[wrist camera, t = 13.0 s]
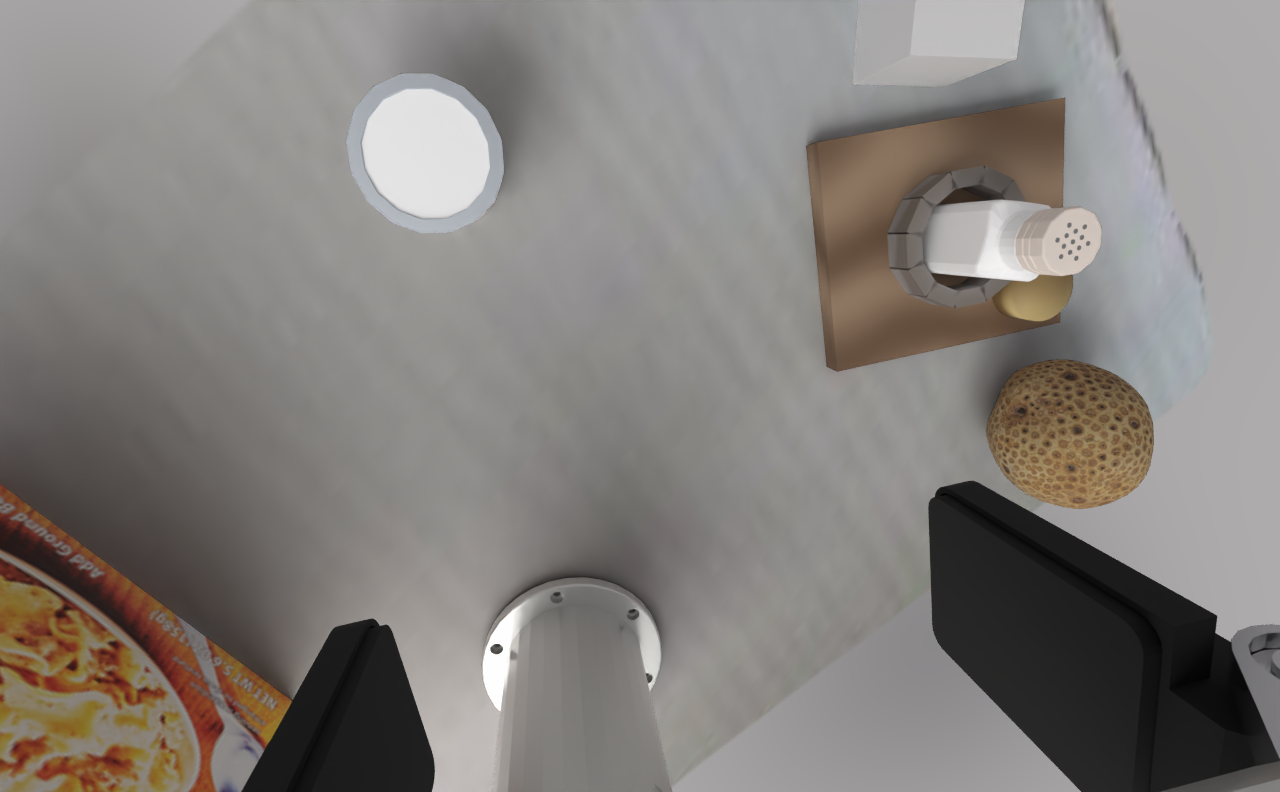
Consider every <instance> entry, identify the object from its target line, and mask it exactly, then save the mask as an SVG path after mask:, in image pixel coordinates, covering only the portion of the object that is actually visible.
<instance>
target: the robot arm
mask: <svg viewBox="0 0 1280 792" xmlns="http://www.w3.org/2000/svg"><path fill="white" fill-rule="evenodd" d="M929 537H930V567H931V596H932V625H933V631H934V635H935V637H936V639H937V641H938V643H939V645H940V646H941V647H942V649H943V650H944V651H945V652H946V653H947V654H948V655H949V656H950V657H951V658H952V659H953V660H954V661H955V662H956V663H957V664H958V665H959V666H960V667H961V668H962V669H963V670H964V672H965V673H967V675H968V676H970V678H971V679H972V680H973V681H974V682H975V683H976V684H977V685H978V686H979V687H980V688H981V689H982V690H983V691H984V692H985V693H986V694H987V695H988V696H989V697H990V698H991V699H992V700H993V701H994V702H995V703H996V704H997V705H998V706H999V707H1000V708H1001V710H1002V711H1003V712H1004V713H1005V714H1006V715H1007V716H1008V717H1009V718H1010V719H1011V720H1012V721H1013V722H1014V723H1015V724H1016V725H1017V726H1018V727H1019V728H1020V729H1021V730H1022V731H1023V732H1024V733H1025V734H1026V735H1027V736H1028V737H1029V738H1030V739H1031V740H1032V741H1033V742H1034V743H1035V744H1036V746H1038V748H1039V749H1040V750H1041V751H1042V752H1043V753H1044V754H1045V755H1046V756H1047V757H1048V758H1049V759H1050V760H1051V761H1052V762H1053V763H1054V764H1055V765H1056V766H1057V767H1058V768H1059V769H1060V770H1061V771H1062V772H1063V773H1064V774H1065V775H1066V776H1067V777H1068V778H1069V779H1070V780H1071V782H1073V783H1074V785H1075V786H1076V787H1077V788H1078V789H1079V790H1080V791H1081V792H1280V625H1271V624H1270V625H1257V626H1250V627H1247V628H1245V629H1242V630H1239V631H1238V632H1237V633H1236V634H1235V635H1234V636H1233V638H1232V639H1231V642H1230V641H1228V640H1226V639H1224V638H1223V637H1221V636H1219V635H1217V634H1216V633H1215V630H1216V622H1217V616H1216V615H1215V614H1213V613H1211V612H1209V611H1208V610H1206V609H1204V608H1202V607H1201V606H1198V605H1197V604H1195V603H1193V602H1191V601H1190V600H1188V599H1186V598H1184V597H1183V596H1181V595H1179V594H1177V593H1175V592H1173V591H1172V590H1170V589H1168V588H1166V587H1164V586H1163V585H1161V584H1159V583H1157V582H1156V581H1154V580H1152V579H1150V578H1148V577H1147V576H1145V575H1143V574H1141V573H1139V572H1137V571H1136V570H1134V569H1132V568H1130V567H1129V566H1127V565H1125V564H1123V563H1121V562H1120V561H1118V560H1116V559H1114V558H1112V557H1110V556H1109V555H1107V554H1105V553H1103V552H1102V551H1100V550H1098V549H1096V548H1094V547H1093V546H1091V545H1089V544H1087V543H1086V542H1084V541H1082V540H1080V539H1078V538H1076V537H1075V536H1073V535H1071V534H1069V533H1068V532H1066V531H1064V530H1062V529H1060V528H1059V527H1057V526H1055V525H1053V524H1051V523H1050V522H1048V521H1046V520H1044V519H1042V518H1040V517H1039V516H1037V515H1035V514H1033V513H1032V512H1030V511H1028V510H1026V509H1024V508H1023V507H1021V506H1019V505H1017V504H1015V503H1014V502H1012V501H1010V500H1008V499H1006V498H1005V497H1003V496H1001V495H999V494H997V493H996V492H994V491H992V490H990V489H988V488H987V487H985V486H983V485H981V484H980V483H978V482H975V481H967V482H962V483H958V484H954V485H949V486H945V487H941V488H939V489H938V490H937V492H936V494H935V497H934V498H932V499H931V500H930V502H929ZM555 592H558V593H555ZM661 659H662V649H661V640H660V636H659V632H658V629H657V626H656V624H655V621H654V619H653V617H652V615H651V613H650V612H649V610H648V609H647V608H646V606H645V605H644V604H643V603H642V602H641V601H640V600H639V599H638V598H637V597H636V596H634V595H633V594H632V593H631V592H629V591H627V590H626V589H624V588H622V587H620V586H618V585H616V584H613V583H610V582H607V581H604V580H600V579H593V578H586V577H580V578H564V579H559V580H554V581H550V582H547V583H544V584H542V585H539V586H537V587H534V588H532V589H530V590H529V591H527V592H525V593H524V594H522V595H520V596H518V597H517V598H516V599H515V600H514V601H513V602H511V603H510V604H509V605H508V606H507V607H506V608H505V609H504V610H503V611H502V612H501V614H500V615H499V616H498V617H497V619H496V620H495V622H494V623H493V625H492V627H491V629H490V631H489V633H488V635H487V639H486V643H485V646H484V651H483V659H482V677H483V682H484V685H485V688H486V692H487V694H488V696H489V697H490V699H491V701H492V703H493V704H494V706H495V707H496V708H497V709H498V710H499V711H500V719H499V729H498V738H497V748H496V758H495V767H494V777H493V787H492V792H672V788H671V784H670V779H669V775H668V770H667V766H666V761H665V757H664V752H663V748H662V744H661V739H660V735H659V730H658V726H657V721H656V717H655V712H654V708H653V704H652V699H651V695H650V691H651V689H652V688H653V686H654V684H655V682H656V680H657V677H658V674H659V671H660V666H661ZM434 775H435V767H434V758H433V754H432V751H431V748H430V745H429V742H428V739H427V735H426V732H425V729H424V726H423V723H422V720H421V717H420V714H419V711H418V708H417V705H416V702H415V699H414V696H413V693H412V690H411V687H410V684H409V681H408V678H407V675H406V672H405V669H404V666H403V663H402V660H401V657H400V654H399V651H398V648H397V645H396V642H395V639H394V636H393V633H392V630H391V628H390V627H389V626H388V625H383V626H379V624H378V622H377V621H376V620H375V619H368V620H363V621H359V622H354V623H350V624H346V625H341V626H337V627H335V628H334V629H333V630H332V631H331V633H330V634H329V636H328V638H327V640H326V642H325V643H324V645H323V647H322V649H321V651H320V652H319V654H318V656H317V658H316V660H315V661H314V663H313V665H312V667H311V668H310V670H309V672H308V674H307V676H306V677H305V679H304V681H303V683H302V685H301V686H300V688H299V690H298V692H297V694H296V695H295V697H294V699H293V701H292V702H291V704H290V706H289V708H288V710H287V711H286V713H285V715H284V717H283V719H282V720H281V722H280V724H279V726H278V728H277V729H276V731H275V733H274V735H273V736H272V738H271V740H270V741H269V743H268V744H267V746H266V748H265V750H264V752H263V753H262V755H261V757H260V759H259V761H258V762H257V764H256V766H255V768H254V769H253V771H252V773H251V775H250V777H249V778H248V780H247V782H246V784H245V786H244V787H243V789H242V791H241V792H432V788H433V783H434Z"/></svg>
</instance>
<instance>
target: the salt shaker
mask: <svg viewBox="0 0 1280 792" xmlns="http://www.w3.org/2000/svg"><path fill="white" fill-rule="evenodd" d="M1101 231H1102V227H1101V225H1100V223H1099V221H1098V219H1097V217H1096V215H1095V213H1093V212H1091V211H1089V210H1087V209H1085V208H1083V207H1068V208H1051V207H1050V206H1048V205H1043V204H1037V203H1030V202H1022V201H1012V200H990V201H978V202H967V203H956V204H944V205H936V206H935V207H934V208H933V211H932V213H931V215H930V218H929V220H928V222H927V224H926V227H925V229H924V231H923V234H922V244H923V262H924V264H925V266H926V267H927V269H928V270H929V272H930V273H938V274H948V275H958V276H969V277H980V278H992V279H1003V280H1014V281H1026V282H1029V281H1032V280H1034V279H1036V278H1037V276H1038V275H1039V274H1040V275H1054V276H1065V275H1071V274H1076V273H1079V272H1080V271H1081V270H1083V269H1084V268H1085V267H1086V266H1087V265H1089V264H1090V263H1091V262H1092V261H1093V259H1094V257H1095V255H1096V253H1097V251H1098V249H1099V248H1100V246H1101Z"/></svg>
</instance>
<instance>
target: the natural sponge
mask: <svg viewBox="0 0 1280 792" xmlns="http://www.w3.org/2000/svg"><path fill="white" fill-rule="evenodd" d="M986 433H987V439H988V443H989V447H990V449H991V451H992V454H993V456H994V458H995V460H996V463H997V464H998V466H999V467H1000V469H1001V470H1002V472H1003V473H1004V475H1005V476H1006V477H1007V479H1009V480H1010V481H1011V482H1012V483H1013V484H1014V485H1015V486H1016V487H1018V488H1019V489H1020V490H1021V491H1023V492H1025V493H1026V494H1028V495H1030V496H1032V497H1034V498H1036V499H1038V500H1041V501H1044V502H1047V503H1050V504H1054V505H1057V506H1062V507H1066V508H1074V509H1084V508H1092V507H1097V506H1102V505H1105V504H1108V503H1111V502H1113V501H1116V500H1118V499H1120V498H1121V497H1123V496H1126V495H1128V494H1129V493H1130V492H1132V491H1133V490H1134V489H1135V488H1137V487H1138V485H1139V484H1140V483H1141V481H1142V480H1143V479H1144V478H1145V476H1146V474H1147V472H1148V469H1149V467H1150V463H1151V458H1152V452H1153V445H1154V438H1153V437H1154V436H1153V422H1152V418H1151V415H1150V412H1149V409H1148V406H1147V404H1146V402H1145V401H1144V399H1143V398H1142V397H1141V395H1140V394H1139V393H1138V392H1137V391H1136V390H1135V389H1134V388H1133V387H1132V386H1131V385H1129V384H1128V383H1127V382H1125V381H1124V380H1123V379H1121V378H1120V377H1118V376H1117V375H1115V374H1113V373H1111V372H1109V371H1107V370H1104V369H1101V368H1098V367H1096V366H1093V365H1090V364H1086V363H1082V362H1078V361H1073V360H1058V359H1057V360H1048V361H1043V362H1038V363H1035V364H1032V365H1029V366H1026V367H1023V368H1021V369H1019V370H1018V371H1016V372H1015V373H1014V374H1012V376H1011V377H1010V378H1009V379H1008V380H1007V382H1006V383H1005V385H1004V387H1003V389H1002V390H1001V392H1000V394H999V397H998V399H997V402H996V405H995V407H994V409H993V411H992V413H991V415H990V417H989V419H988V423H987V429H986Z"/></svg>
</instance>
